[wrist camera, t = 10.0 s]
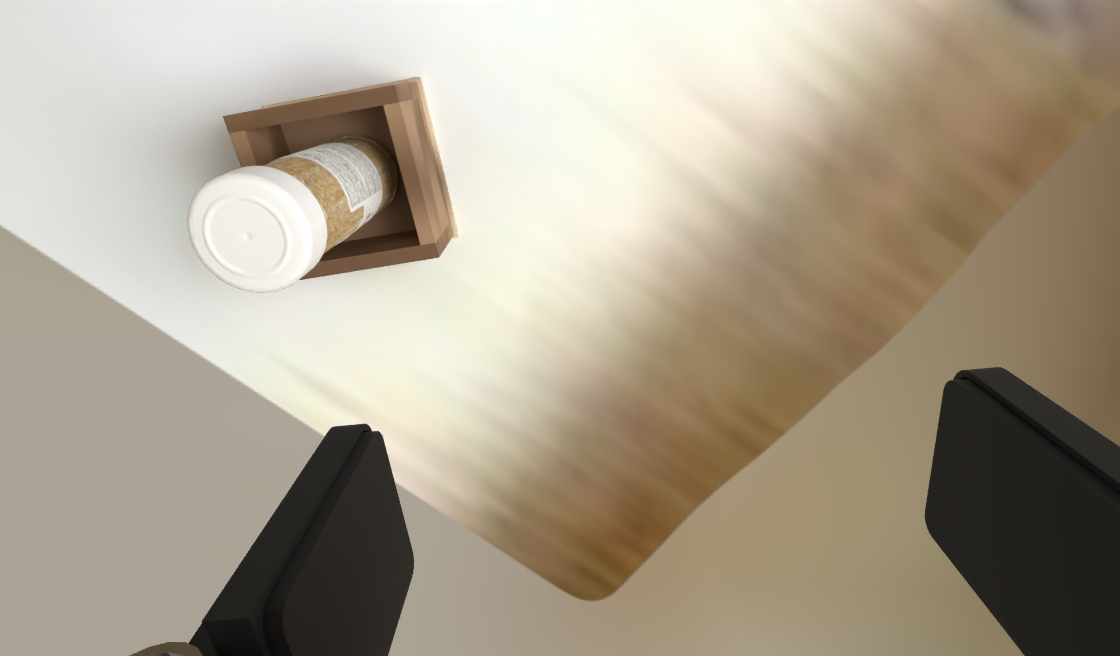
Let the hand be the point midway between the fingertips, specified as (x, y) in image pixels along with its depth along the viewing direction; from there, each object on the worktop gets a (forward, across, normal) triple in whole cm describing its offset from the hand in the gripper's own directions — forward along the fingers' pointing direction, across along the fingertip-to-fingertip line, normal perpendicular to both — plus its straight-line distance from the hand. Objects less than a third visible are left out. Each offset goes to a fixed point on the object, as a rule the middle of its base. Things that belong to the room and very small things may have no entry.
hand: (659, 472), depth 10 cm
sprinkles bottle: (+27, +13, -2) cm, 30 cm away
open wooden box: (+27, +13, -2) cm, 30 cm away
